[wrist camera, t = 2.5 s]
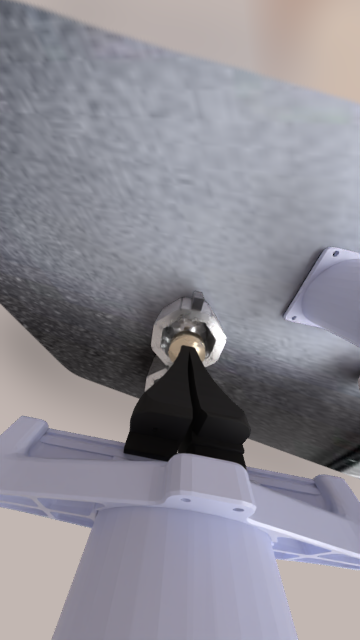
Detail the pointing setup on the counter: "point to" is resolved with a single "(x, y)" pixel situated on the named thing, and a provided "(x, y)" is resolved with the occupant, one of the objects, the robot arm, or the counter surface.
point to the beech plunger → (187, 337)
